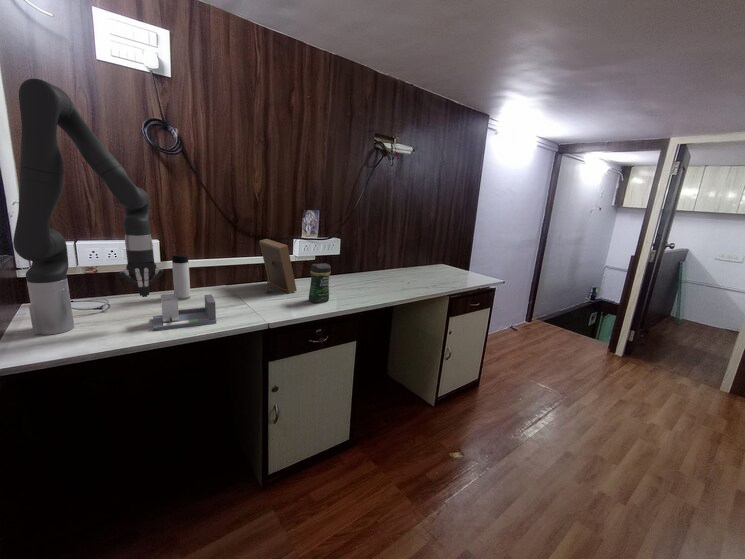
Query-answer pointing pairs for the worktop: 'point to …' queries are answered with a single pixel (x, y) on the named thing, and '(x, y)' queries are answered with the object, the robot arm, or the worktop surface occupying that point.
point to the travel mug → (181, 276)
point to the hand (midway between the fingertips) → (144, 296)
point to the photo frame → (278, 265)
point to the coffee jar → (319, 282)
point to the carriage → (170, 307)
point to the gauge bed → (189, 316)
